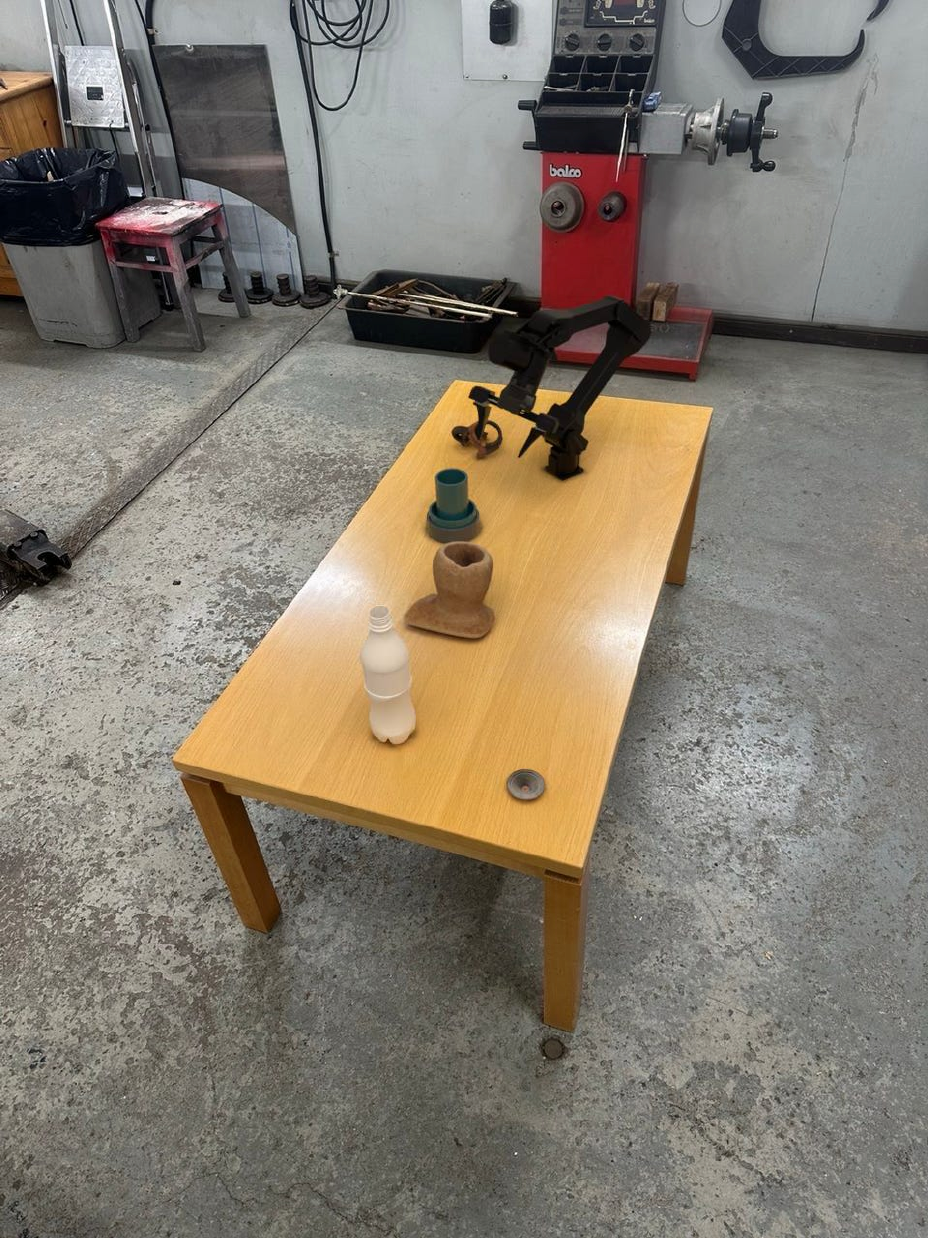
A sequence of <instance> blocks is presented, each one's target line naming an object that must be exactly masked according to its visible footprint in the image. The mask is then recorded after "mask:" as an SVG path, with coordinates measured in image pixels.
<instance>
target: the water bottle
mask: <svg viewBox="0 0 928 1238" xmlns="http://www.w3.org/2000/svg"><path fill="white" fill-rule="evenodd" d="M367 614H368V623H367V627H368V630H369V631H368V634H367V636H366V637H365V639H364V641H363V643H362V646H361V647H360V653H359V660H360V664H361V668H362V674H363V687H364V691H365V693H366V695H367V697H368V701H369V713H368V719H369V726H370V729H371V731H372V734H373V735H374V736H375V738H376V739H377V740H379V742H381V743H386V742H387V741H389V742H390V743H391V744H392V745H400V744H404V743H405V742H406V741H407V740H408V738H409V736H410V735H411V734H412V733H413V732H414V731H415V728H416V723H417V721H416V720H417V716H416V709H415V708H414V705H413V702H412V698H411V687H412V683H413V677H412V674H411V666H410V665H411V664H410V651H409V647H408V645H407V642H405V640H404V639H403V638H402V637H401V635H400V634H399V633H398V632H397V631H396V629H395V628H394V620H393V618H392V617H391V610H390V608H389V607H388V606H387V605H383V604H382V605H381V604H379V605H374V606H373V607H371V608H370V609H369V610H368V613H367Z"/></svg>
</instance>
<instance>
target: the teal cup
mask: <svg viewBox="0 0 928 1238" xmlns="http://www.w3.org/2000/svg"><path fill="white" fill-rule="evenodd" d="M434 489H435V492H434V493H435V501H436V508H437V518H439V519H442V520H447V521H456V520H461V519H464V518H466V517H468V516H469V500H468V499H469V476H468V473H467V472H465V470H462V469H460V468H454V467H453V468H451V467H450V468H445V469H441V470H439V471H438V472H437V473H436V474H435V476H434Z"/></svg>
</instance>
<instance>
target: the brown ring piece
mask: <svg viewBox="0 0 928 1238" xmlns="http://www.w3.org/2000/svg"><path fill="white" fill-rule="evenodd" d="M487 425H489V426H491V427H492V428H493V429H495V430H496V432H497V438H496V439H494V441H492V442H485V443H484V445H482V444H481V443H482V441H481V440H485V441H486V440H487V438H488V436H489V432H487V431H484V433H483V435H482V437H481V439H480V441H478V440H477V436H478V420H477V421H475V422H473V423H471V424H470V425H468V426H465V425H456V426H454V427H453V428H452V430H451V432H450V434H451V436H452V438H453V439H454V440H455V441H456V442H458V443H460V445H461V446H462V448H465V446H466V445H468V443H469V442H471V444H472V445H473V446H474V447H475V448H476V449H477V453H476V454H475V457H476V458H478V459H484V458H485V456H490V455H491V454H493V453H495V452H496V451H498V450H499V449H500V446H502V443H503V440H504V439H503V433H502V428H501V427H500V425H499V424H498V423H496V422H495V421H493V420H490V419H488V421H487V424H486V426H487Z"/></svg>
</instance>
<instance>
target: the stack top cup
mask: <svg viewBox="0 0 928 1238" xmlns="http://www.w3.org/2000/svg"><path fill="white" fill-rule="evenodd" d="M468 500H469V516H468V517H466V518H464V519H461V520H456V521H447V520H442V519H439V518H437V508H436V500H434V501H432V502H431V504H430V505H429V509H428V511H429V518H430V521H431V522H432V523H433V524H434V525H436V526H438V527H440V528H445V529H458V528H463V527H466V526H468V525H470V524H471V523H473V522H474V521H475V519H476V508H477V505H476V504H475V502H474V501H472V500H471V499H470V498H468Z"/></svg>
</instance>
